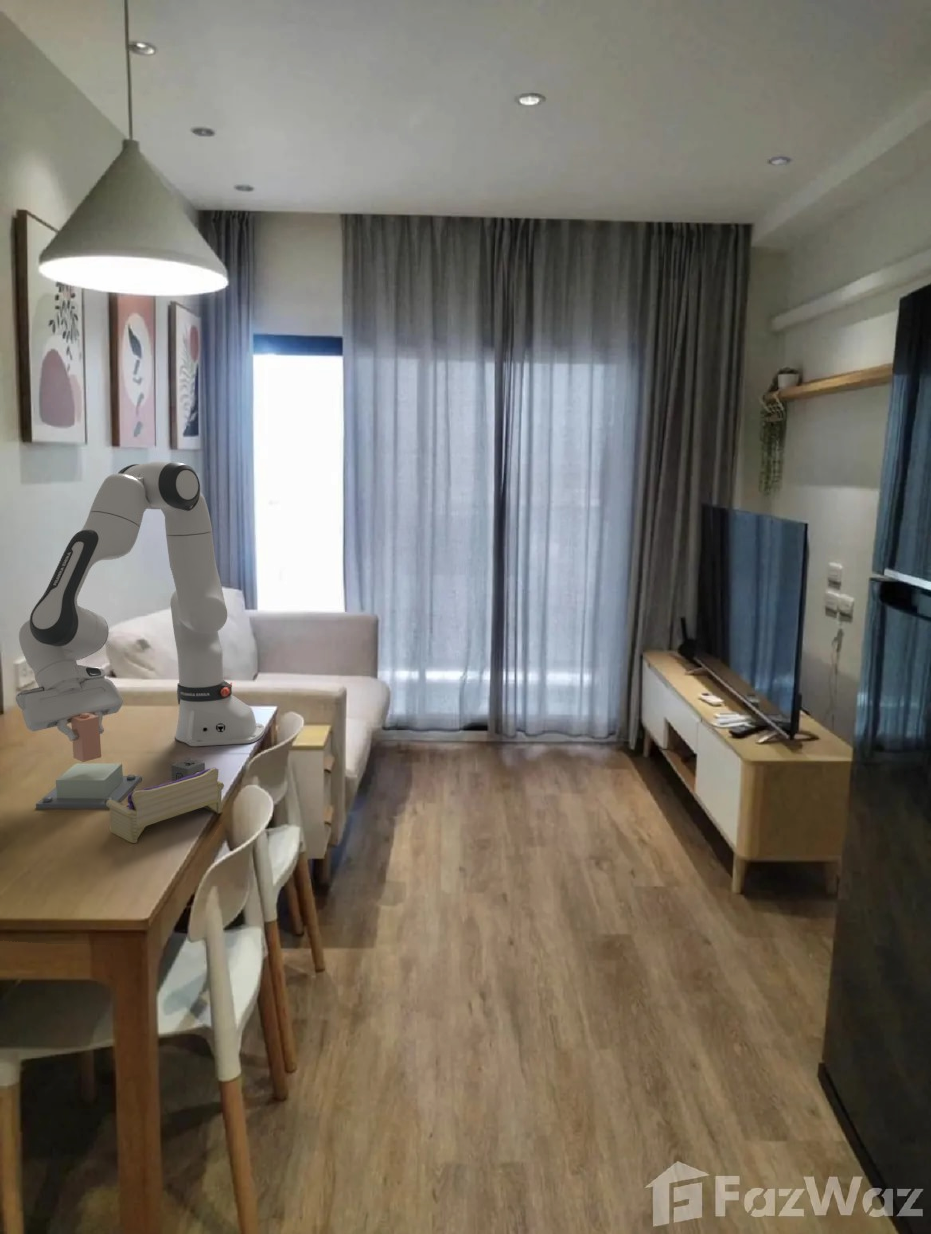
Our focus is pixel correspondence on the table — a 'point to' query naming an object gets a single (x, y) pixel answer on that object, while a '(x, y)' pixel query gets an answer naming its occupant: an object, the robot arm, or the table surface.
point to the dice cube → (186, 768)
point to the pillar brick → (86, 737)
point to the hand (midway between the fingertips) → (87, 736)
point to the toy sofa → (165, 803)
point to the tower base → (90, 802)
